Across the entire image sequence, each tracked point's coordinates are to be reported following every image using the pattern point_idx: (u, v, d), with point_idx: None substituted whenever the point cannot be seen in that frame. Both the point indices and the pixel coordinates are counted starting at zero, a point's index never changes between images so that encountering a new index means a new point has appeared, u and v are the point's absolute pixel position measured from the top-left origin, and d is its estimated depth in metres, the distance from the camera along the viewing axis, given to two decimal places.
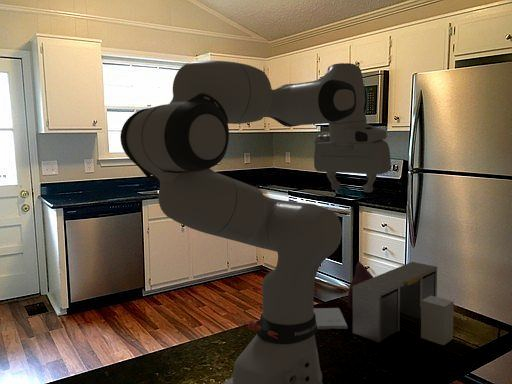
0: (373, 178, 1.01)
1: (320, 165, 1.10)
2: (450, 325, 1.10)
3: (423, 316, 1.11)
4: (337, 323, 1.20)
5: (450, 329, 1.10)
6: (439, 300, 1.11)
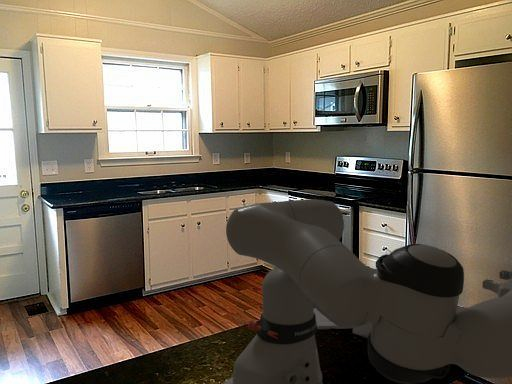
0: None
1: None
2: None
3: None
4: None
5: None
6: None
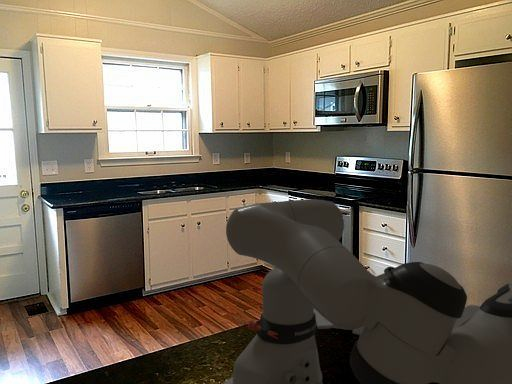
0: None
1: None
2: None
3: None
4: None
5: None
6: None
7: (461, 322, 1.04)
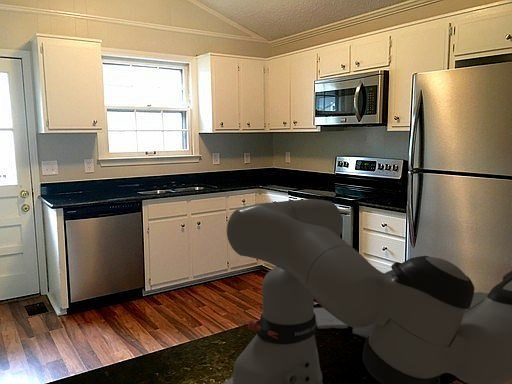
0: None
1: None
2: None
3: None
4: (337, 322, 1.21)
5: None
6: None
7: None
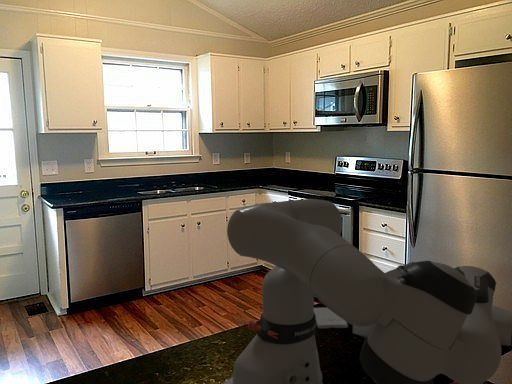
0: None
1: None
2: None
3: None
4: (337, 322, 1.21)
5: None
6: None
7: None
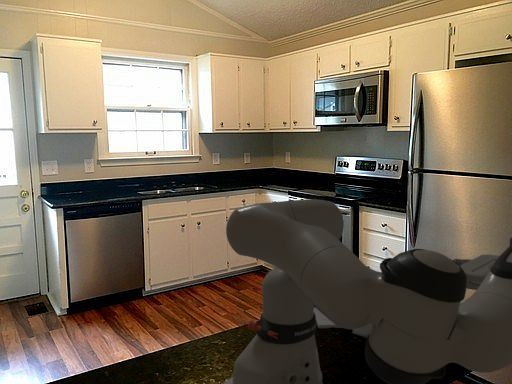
0: None
1: None
2: None
3: None
4: None
5: None
6: None
7: (476, 266, 1.03)
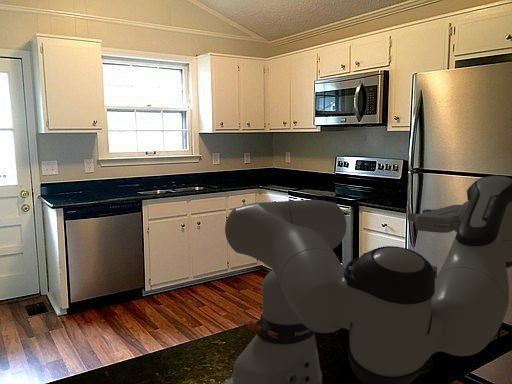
0: None
1: None
2: None
3: None
4: None
5: None
6: None
7: (443, 212, 1.02)
